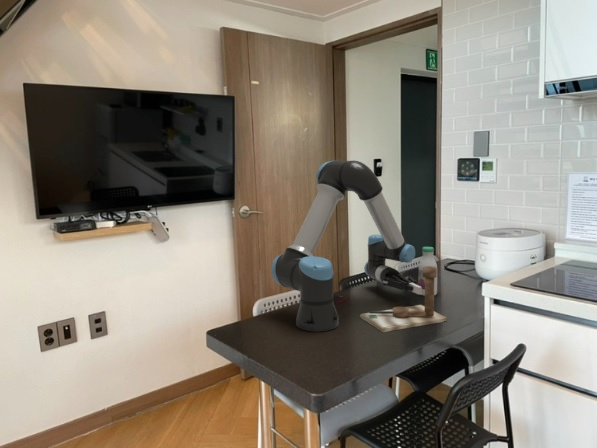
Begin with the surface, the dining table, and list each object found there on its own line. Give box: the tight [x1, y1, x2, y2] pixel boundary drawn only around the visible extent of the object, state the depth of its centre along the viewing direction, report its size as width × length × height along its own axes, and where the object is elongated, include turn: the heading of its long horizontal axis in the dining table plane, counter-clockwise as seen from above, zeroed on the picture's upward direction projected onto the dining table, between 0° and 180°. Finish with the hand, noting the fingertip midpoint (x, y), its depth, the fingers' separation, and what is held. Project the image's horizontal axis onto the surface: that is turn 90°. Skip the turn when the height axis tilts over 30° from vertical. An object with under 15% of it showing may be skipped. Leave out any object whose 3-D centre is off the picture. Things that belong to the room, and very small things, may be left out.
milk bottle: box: [417, 246, 438, 297], centre depth 193 cm, size 8×8×20 cm
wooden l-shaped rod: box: [369, 266, 438, 317], centre depth 163 cm, size 23×6×17 cm, turn 84°
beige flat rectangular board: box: [359, 304, 448, 333], centre depth 165 cm, size 26×16×2 cm, turn 110°
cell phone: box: [333, 293, 350, 306], centre depth 188 cm, size 8×15×1 cm, turn 136°
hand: (419, 290), depth 170 cm, fingers closed
